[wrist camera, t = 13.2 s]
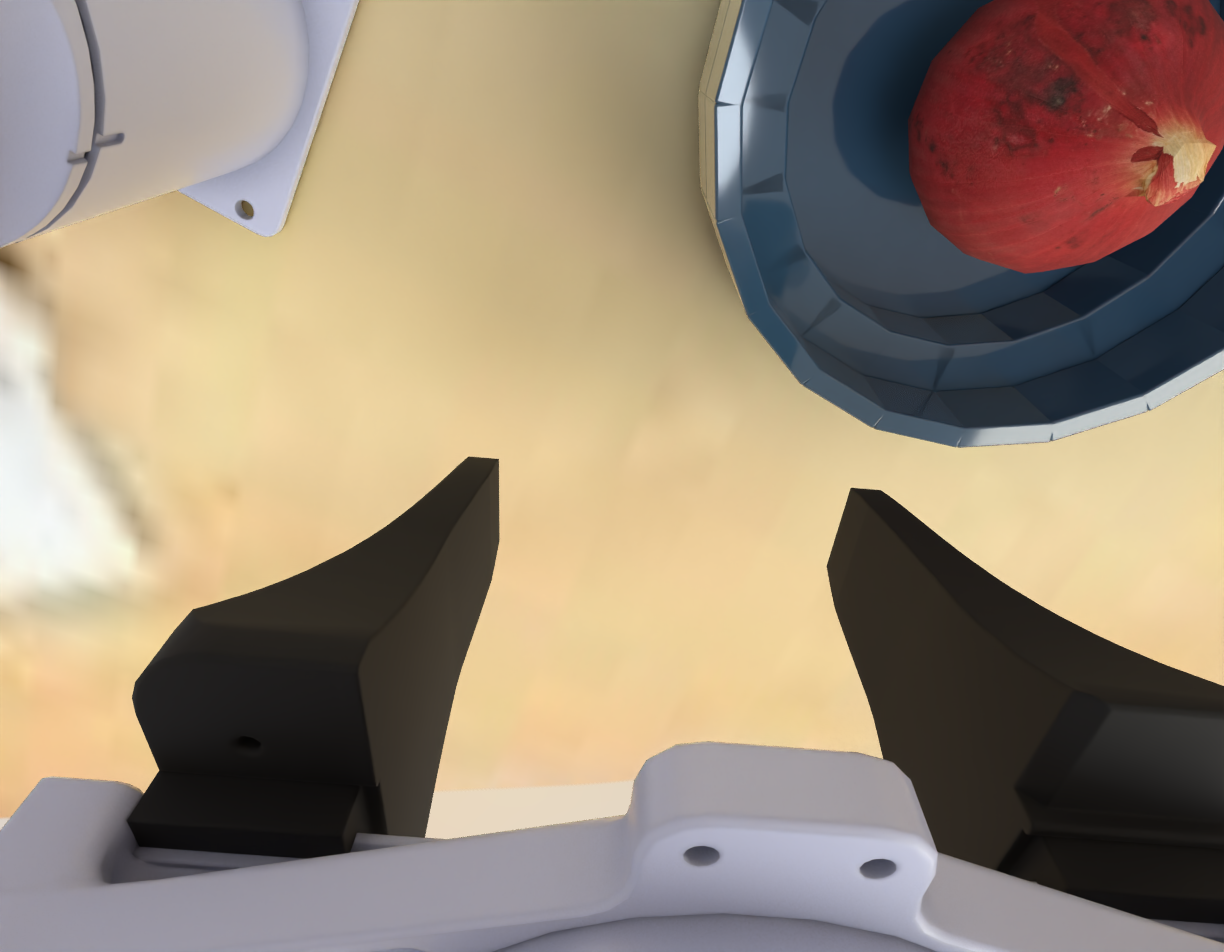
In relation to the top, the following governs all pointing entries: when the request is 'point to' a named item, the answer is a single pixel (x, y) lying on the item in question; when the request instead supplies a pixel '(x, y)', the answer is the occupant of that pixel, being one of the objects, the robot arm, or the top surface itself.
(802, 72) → the bowl
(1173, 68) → the pomegranate
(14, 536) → the top surface
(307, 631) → the robot arm
